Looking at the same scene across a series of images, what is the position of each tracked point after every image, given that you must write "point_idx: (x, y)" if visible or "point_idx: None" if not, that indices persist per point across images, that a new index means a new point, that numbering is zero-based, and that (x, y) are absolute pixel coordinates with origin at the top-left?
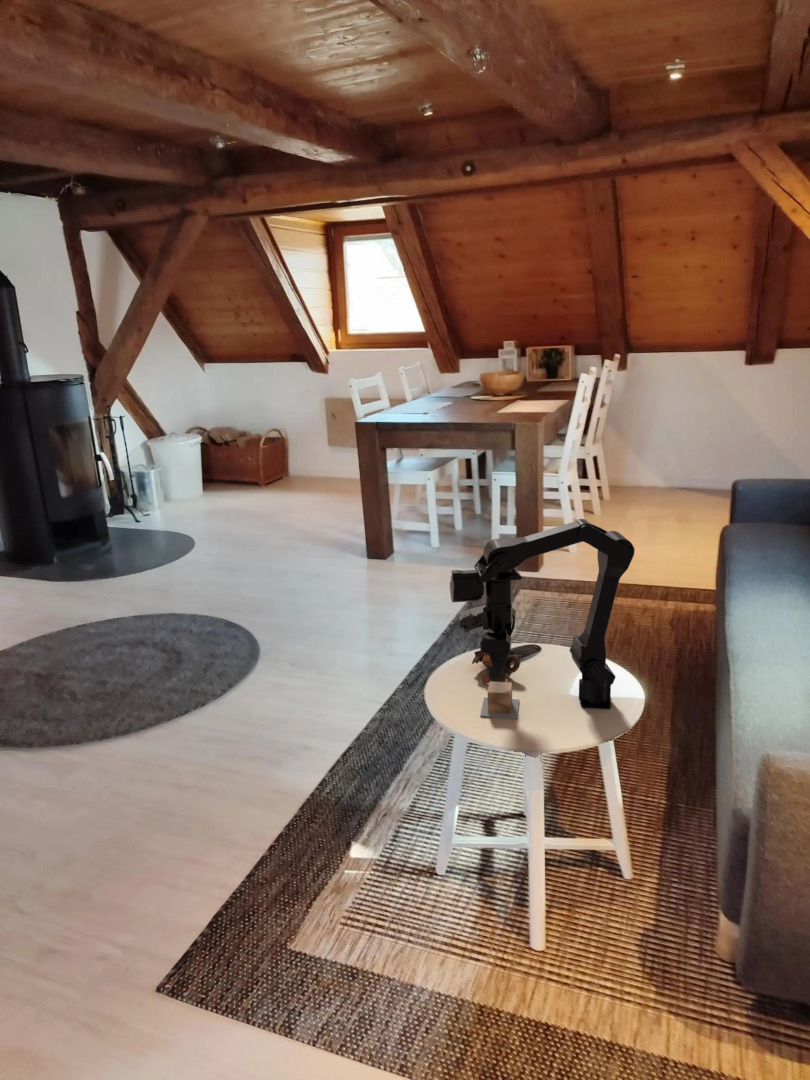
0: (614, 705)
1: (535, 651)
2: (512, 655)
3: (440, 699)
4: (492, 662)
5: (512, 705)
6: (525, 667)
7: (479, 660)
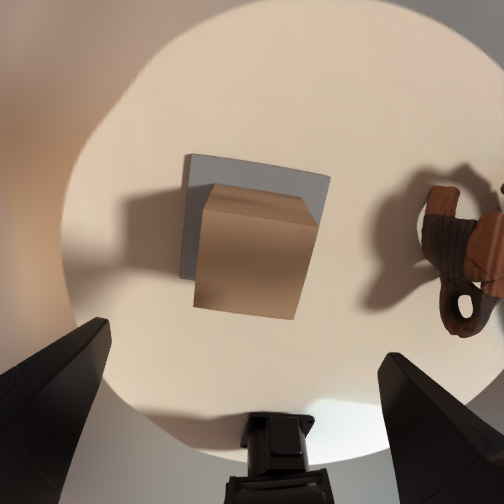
0: None
1: None
2: (480, 326)
3: (335, 14)
4: (17, 372)
5: None
6: None
7: None
